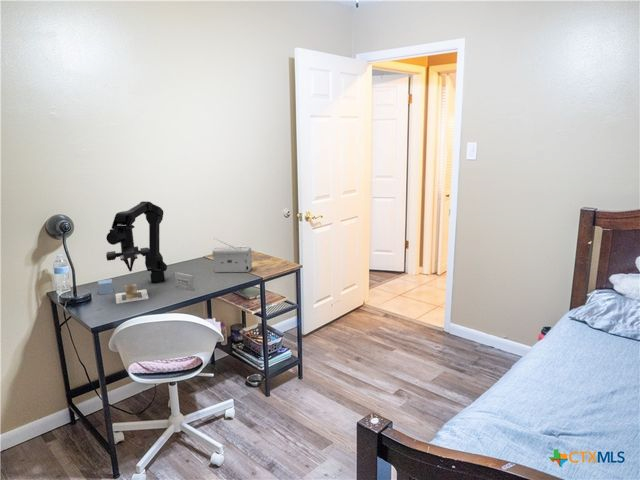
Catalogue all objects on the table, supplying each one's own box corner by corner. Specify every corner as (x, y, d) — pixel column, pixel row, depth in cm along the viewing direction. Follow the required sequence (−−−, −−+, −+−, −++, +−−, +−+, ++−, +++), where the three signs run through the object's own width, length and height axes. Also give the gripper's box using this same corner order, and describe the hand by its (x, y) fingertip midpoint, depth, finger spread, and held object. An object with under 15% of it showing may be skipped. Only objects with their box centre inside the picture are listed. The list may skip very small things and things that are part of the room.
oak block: (137, 293, 217) (135, 283, 216) (137, 296, 212) (136, 287, 211) (125, 295, 215) (124, 285, 213) (126, 298, 210) (125, 288, 209)
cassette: (195, 289, 223) (193, 275, 221) (192, 291, 221) (191, 276, 219) (178, 285, 229) (176, 271, 227) (175, 287, 227) (174, 272, 225)
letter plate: (146, 290, 223) (146, 289, 223) (148, 299, 210) (148, 298, 210) (115, 294, 217) (115, 293, 217) (116, 304, 205) (116, 303, 204)
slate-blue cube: (113, 290, 223) (111, 278, 222) (113, 294, 218) (111, 282, 217) (99, 292, 221) (98, 280, 220) (99, 296, 216) (98, 284, 214)
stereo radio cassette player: (252, 268, 256) (250, 234, 251) (250, 273, 248) (248, 238, 243) (216, 269, 256) (213, 235, 251) (212, 273, 248) (210, 238, 243)
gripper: (104, 245, 196) (109, 279, 200) (149, 240, 204) (153, 273, 208) (104, 240, 206) (108, 272, 210) (147, 235, 214) (150, 266, 217)
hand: (130, 271), depth 211 cm, fingers closed
